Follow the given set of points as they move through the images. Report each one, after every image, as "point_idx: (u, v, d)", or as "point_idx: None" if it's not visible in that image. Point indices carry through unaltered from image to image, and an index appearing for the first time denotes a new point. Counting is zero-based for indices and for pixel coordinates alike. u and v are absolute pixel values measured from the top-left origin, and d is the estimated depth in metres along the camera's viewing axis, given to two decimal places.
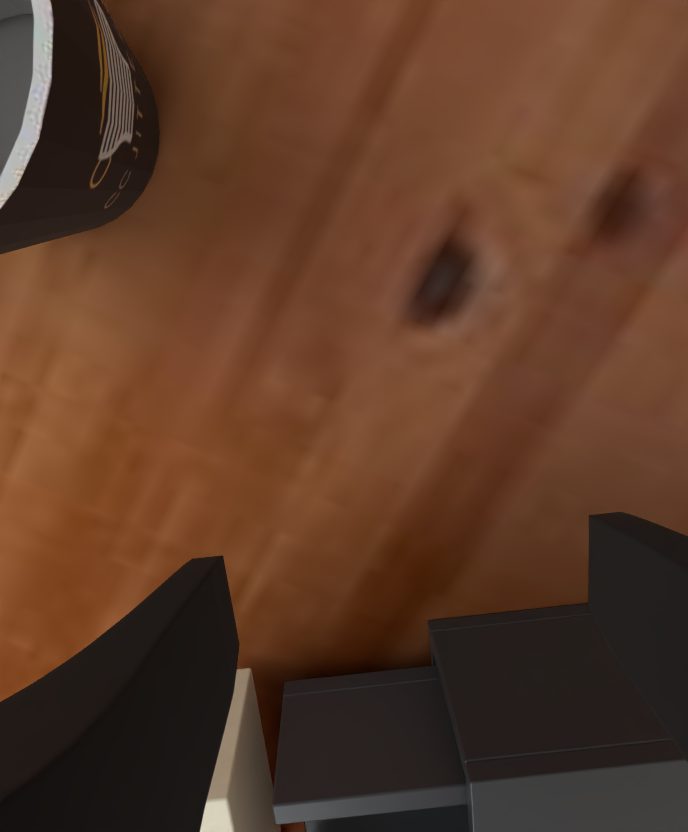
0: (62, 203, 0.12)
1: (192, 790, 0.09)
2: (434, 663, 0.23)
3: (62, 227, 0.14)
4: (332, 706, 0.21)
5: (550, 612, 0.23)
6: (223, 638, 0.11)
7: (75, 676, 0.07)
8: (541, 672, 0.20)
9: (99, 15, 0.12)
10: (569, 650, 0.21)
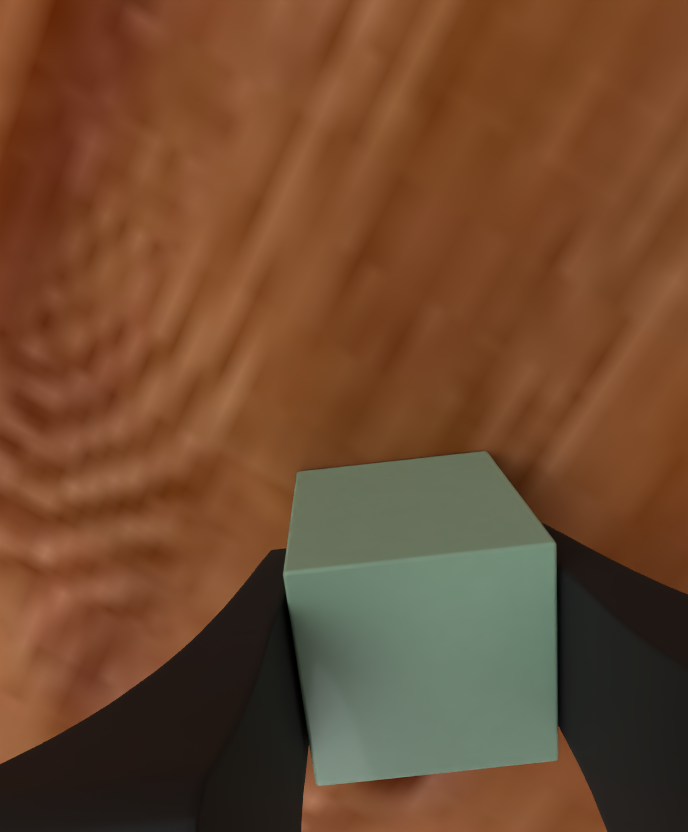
0: None
1: (295, 779, 0.09)
2: None
3: None
4: None
5: None
6: None
7: (200, 664, 0.07)
8: None
9: None
10: None
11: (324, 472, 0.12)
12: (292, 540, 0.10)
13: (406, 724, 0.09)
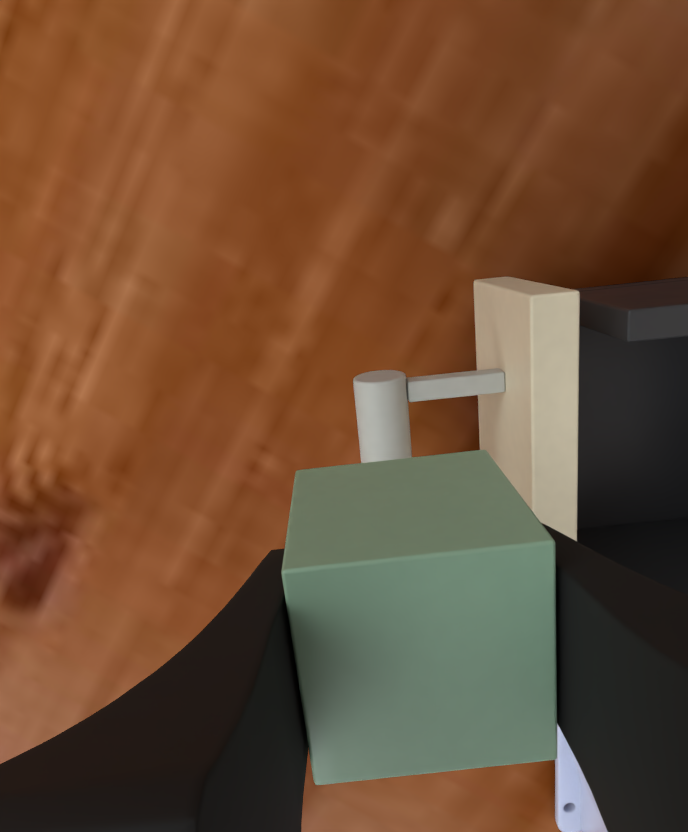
0: None
1: (295, 779, 0.09)
2: None
3: None
4: (630, 289, 0.18)
5: None
6: None
7: (200, 664, 0.07)
8: None
9: None
10: None
11: (322, 471, 0.12)
12: (290, 538, 0.10)
13: (405, 723, 0.09)
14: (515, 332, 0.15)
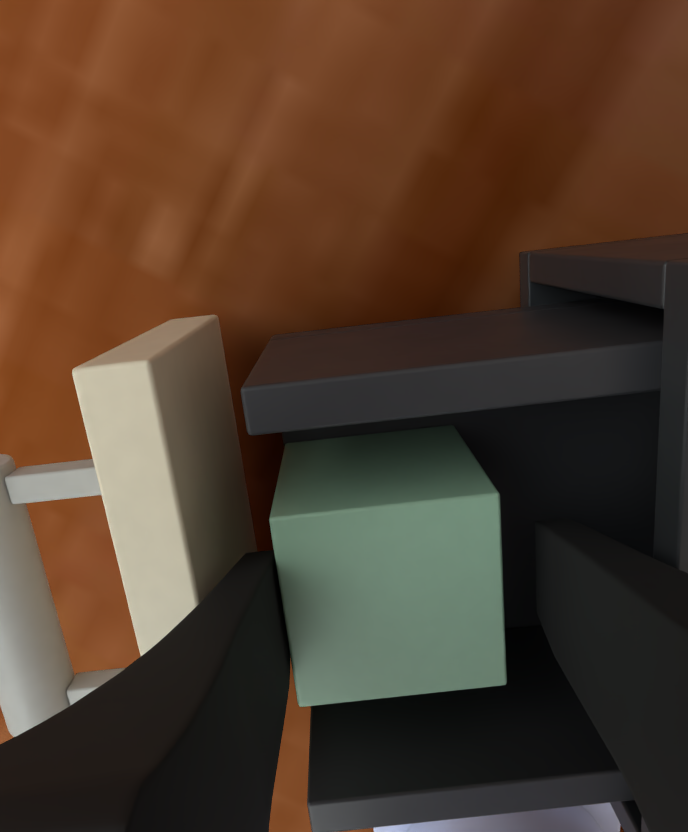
0: None
1: (262, 782, 0.09)
2: None
3: None
4: (352, 336, 0.13)
5: None
6: (280, 632, 0.11)
7: (159, 668, 0.07)
8: None
9: None
10: None
11: (308, 443, 0.14)
12: (278, 495, 0.11)
13: (375, 652, 0.11)
14: None
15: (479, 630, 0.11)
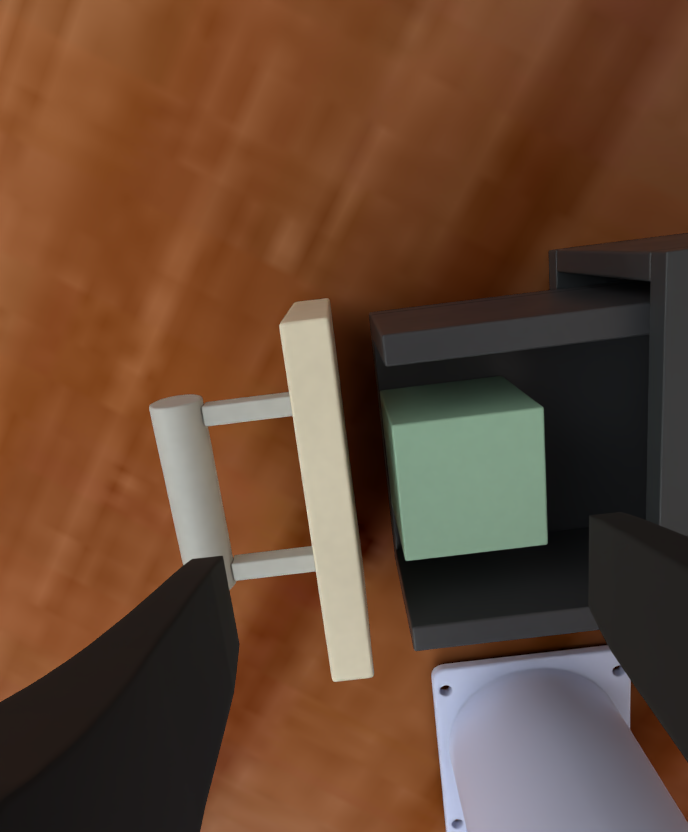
0: None
1: (192, 790, 0.09)
2: None
3: None
4: (433, 310, 0.18)
5: None
6: (223, 638, 0.11)
7: (75, 676, 0.07)
8: None
9: None
10: None
11: (398, 389, 0.19)
12: (391, 415, 0.16)
13: (459, 520, 0.16)
14: None
15: (529, 504, 0.16)
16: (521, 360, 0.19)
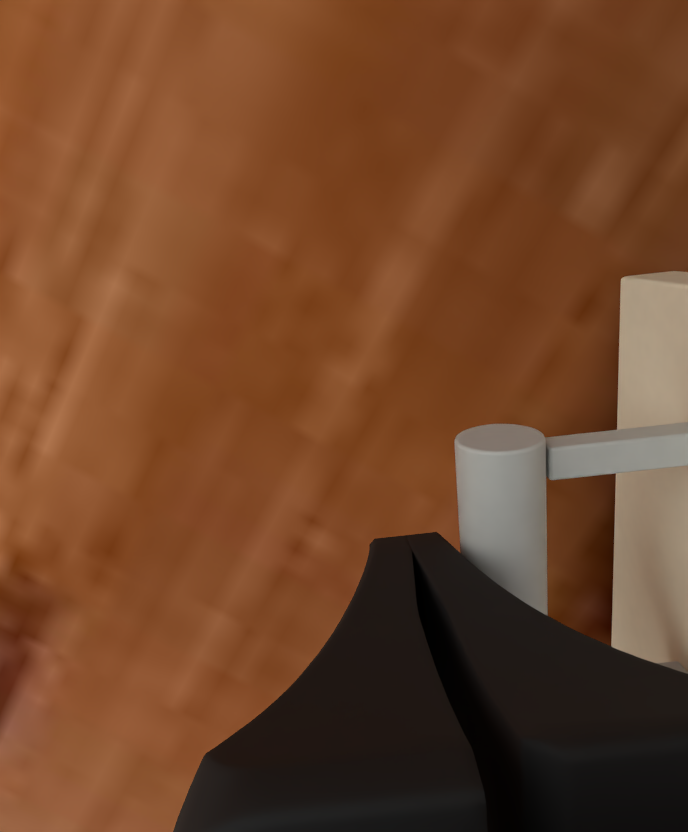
0: None
1: None
2: None
3: None
4: None
5: None
6: None
7: (363, 646, 0.07)
8: None
9: None
10: None
11: None
12: None
13: None
14: None
15: None
16: None
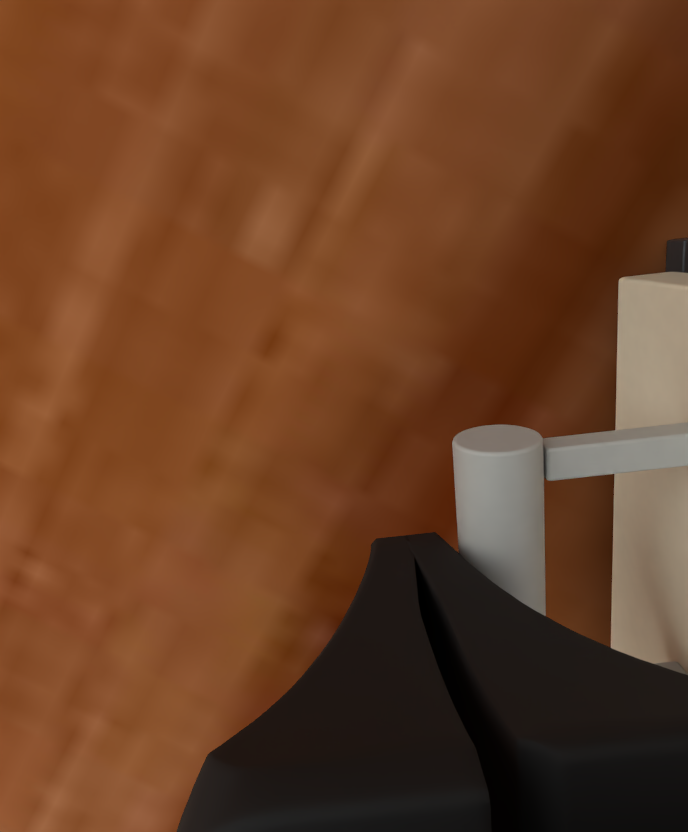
0: None
1: None
2: None
3: None
4: None
5: None
6: None
7: (365, 646, 0.07)
8: None
9: None
10: None
11: None
12: None
13: None
14: None
15: None
16: None
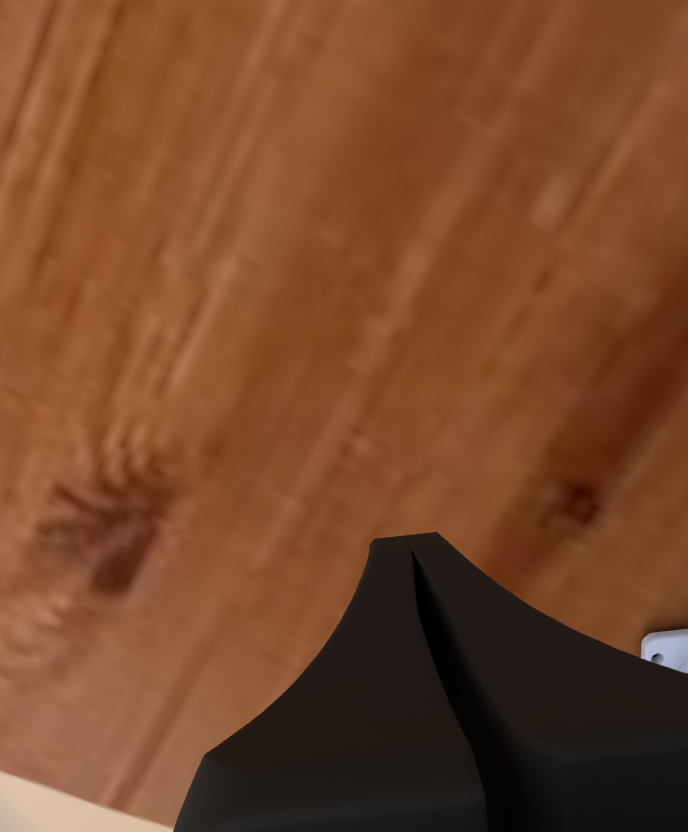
0: None
1: None
2: None
3: None
4: None
5: None
6: None
7: (363, 646, 0.07)
8: None
9: None
10: None
11: None
12: None
13: None
14: None
15: None
16: None
